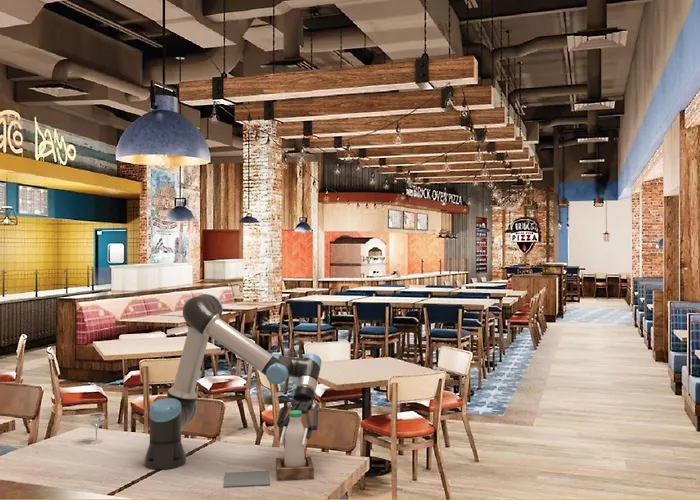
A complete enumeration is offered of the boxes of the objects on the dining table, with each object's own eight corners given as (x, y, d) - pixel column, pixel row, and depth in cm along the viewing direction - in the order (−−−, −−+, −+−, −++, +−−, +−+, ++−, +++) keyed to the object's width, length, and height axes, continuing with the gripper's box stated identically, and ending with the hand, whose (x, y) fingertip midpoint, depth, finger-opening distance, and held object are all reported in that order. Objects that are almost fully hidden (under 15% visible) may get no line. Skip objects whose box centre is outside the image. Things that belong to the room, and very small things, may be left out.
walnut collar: (277, 480, 244) (277, 469, 244) (275, 468, 257) (275, 457, 257) (313, 479, 246) (313, 467, 246) (310, 467, 259) (310, 456, 259)
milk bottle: (302, 470, 247) (302, 414, 246) (281, 468, 248) (282, 413, 248) (307, 463, 254) (308, 409, 254) (287, 461, 256) (288, 408, 256)
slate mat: (223, 487, 237) (223, 486, 237) (225, 473, 251) (225, 472, 251) (270, 485, 239) (270, 484, 239) (269, 471, 253) (269, 470, 253)
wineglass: (84, 444, 286) (84, 415, 286) (93, 439, 293) (93, 411, 293) (99, 445, 285) (99, 416, 285) (108, 440, 292) (108, 412, 292)
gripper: (332, 397, 264) (321, 452, 248) (281, 394, 268) (267, 448, 253) (329, 386, 259) (318, 442, 243) (277, 383, 263) (262, 437, 247)
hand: (292, 445), depth 248 cm, fingers closed on milk bottle, 8 cm apart
